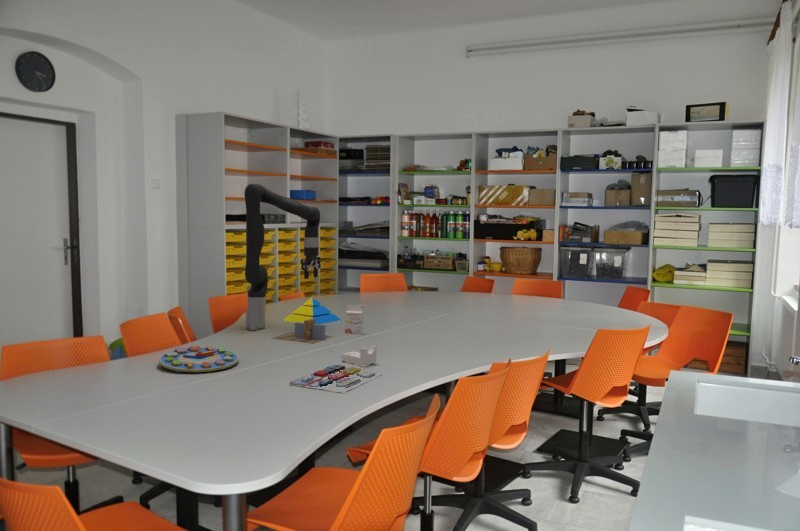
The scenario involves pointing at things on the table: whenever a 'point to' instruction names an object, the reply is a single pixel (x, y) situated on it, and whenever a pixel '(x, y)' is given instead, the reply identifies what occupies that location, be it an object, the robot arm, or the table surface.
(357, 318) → the ink cartridge box
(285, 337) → the walnut base board
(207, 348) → the shape sorting clock
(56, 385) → the table surface
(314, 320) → the oak slotted plate
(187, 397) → the table surface
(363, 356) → the bracket
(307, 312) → the pyramid toy
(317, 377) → the puzzle board
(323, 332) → the slate-blue slotted plate
